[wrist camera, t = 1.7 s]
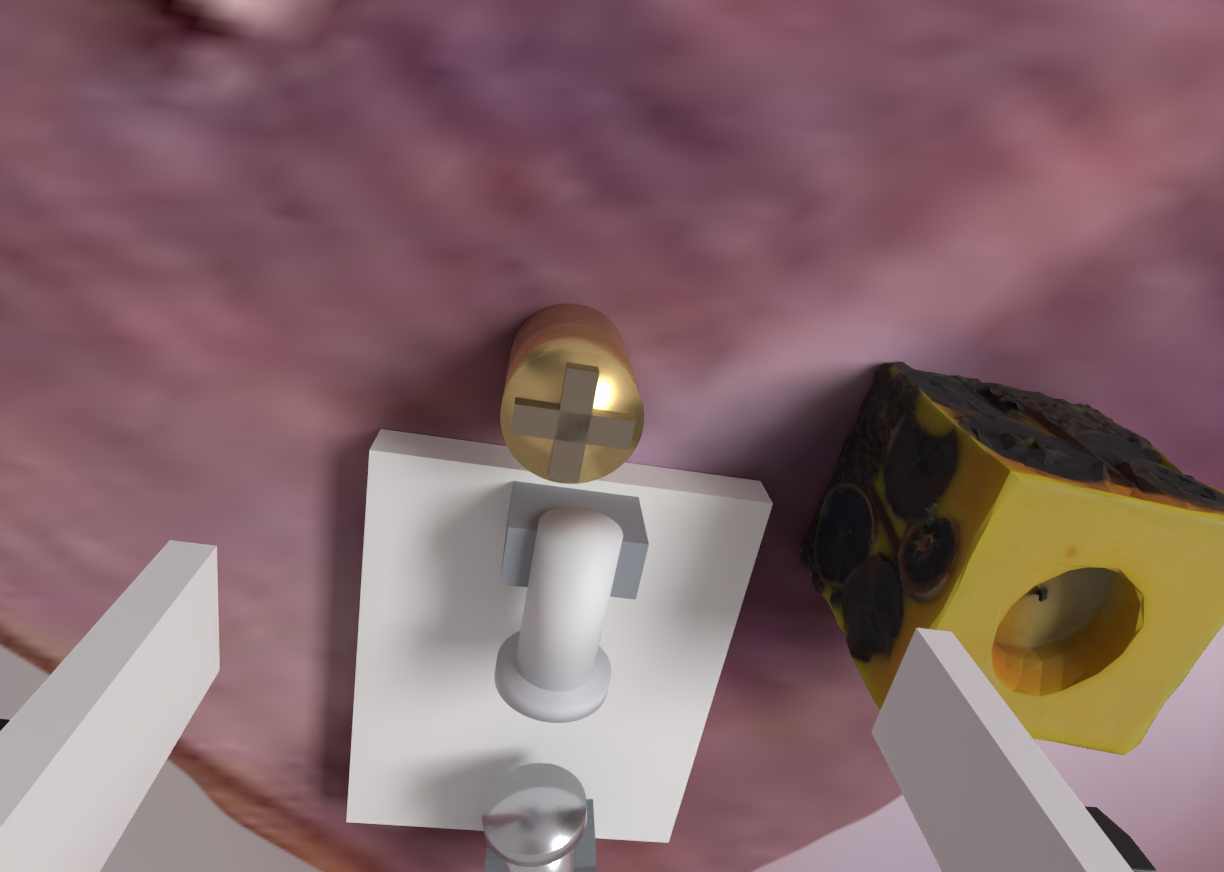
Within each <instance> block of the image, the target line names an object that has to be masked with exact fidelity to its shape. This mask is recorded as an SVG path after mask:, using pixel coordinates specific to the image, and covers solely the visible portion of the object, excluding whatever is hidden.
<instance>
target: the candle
mask: <svg viewBox="0 0 1224 872" xmlns="http://www.w3.org/2000/svg"><path fill="white" fill-rule="evenodd" d="M800 554H801V562H802V563H803V565H804V566H805V567H806V568H807V569H808V571H809V573H810V575H811V579H812V582H813V584H814V586H815V589H816V590H817V591H818V592H819V593H820V594H821V595H822V596H823V597H824V598H825V599H826V600H827V601H828V603H829V605H830V607H831V609H832V611H833V613H834V616H835V618H836V621H837V623H838V626H839V627H840V628H841V630H842V631H843V632H844V633H845V634H846V635H847V636H846V642H847V644H848V647H849V651H850V654H851V656H852V658H853V660H854V663H855V665H856V667H857V669H858V671H859V673H860V675H861V676H862V678H863V680H864V682H865V684H866V686H867V688H868V690H869V692H870V694H871V696H872V698H873V700H874V701H875V703H876V704H877V706H878V707H879V709H880V710H881V708H882V706H883V703H884V701H885V699H886V696H887V694H888V692H889V690H890V687H891V685H892V683H893V680H894V678H895V676H896V673H897V671H898V669H899V666H900V664H901V662H902V660H903V657H904V655H905V653H906V650H907V648H908V646H909V643H910V641H911V639H912V637H913V634H914V632H915V630H916V628H924V629H933V630H941V631H950V632H952V633H953V634H954V635H955V637H956V638H957V639H958V641H959V642H960V643H961V645H962V646H963V647H964V649H965V650H966V651H967V652H968V654H969V655H970V656H971V658H972V659H973V660H974V662H975V663H976V664H977V666H978V667H979V668H980V670H981V671H982V672H983V674H984V675H985V676H986V678H987V679H988V680H989V682H990V683H991V684H992V685H993V687H994V688H995V689H996V691H997V692H998V693H999V695H1000V696H1001V697H1002V699H1003V700H1004V701H1005V703H1006V704H1007V705H1008V707H1009V708H1010V709H1011V711H1012V712H1013V713H1014V714H1015V716H1016V717H1017V718H1018V720H1019V721H1020V722H1021V724H1022V725H1023V726H1024V728H1025V729H1026V730H1027V732H1028V733H1029V734H1030V736H1031V737H1032V738H1033V739H1039V740H1046V741H1053V742H1058V743H1063V744H1068V745H1073V746H1077V747H1082V748H1087V749H1093V750H1098V751H1104V752H1109V753H1115V754H1120V755H1125V754H1127V753H1128V752H1129V751H1131V750H1132V749H1134V748H1135V747H1136V746H1138V745H1139V744H1140V742H1141V741H1142V739H1143V737H1144V736H1145V734H1146V733H1147V731H1148V729H1149V728H1150V726H1151V724H1152V723H1153V721H1154V719H1155V718H1156V716H1157V714H1158V713H1159V711H1160V710H1161V708H1162V706H1163V705H1164V703H1165V702H1166V701H1167V699H1168V698H1169V697H1170V696H1171V695H1172V693H1173V692H1174V691H1175V690H1176V689H1177V688H1178V686H1179V685H1180V684H1181V683H1182V682H1183V680H1184V679H1185V677H1186V676H1187V674H1188V673H1189V671H1190V670H1191V668H1192V667H1193V665H1194V664H1195V662H1196V661H1197V660H1198V658H1199V657H1200V656H1201V654H1202V653H1203V651H1204V650H1205V649H1206V647H1207V646H1208V645H1209V643H1210V642H1211V640H1212V639H1213V638H1214V637H1215V635H1216V634H1217V632H1218V631H1219V629H1220V628H1221V627H1222V626H1223V625H1224V490H1221V489H1218V488H1215V487H1212V486H1209V485H1206V484H1203V483H1201V482H1199V481H1197V480H1195V479H1194V478H1193V477H1192V476H1188V475H1183V474H1182V473H1181V472H1180V471H1179V469H1178V468H1177V467H1175V466H1174V465H1173V464H1172V463H1170V462H1169V460H1168V459H1167V458H1166V457H1165V456H1164V455H1163V454H1162V453H1160V452H1159V451H1158V450H1157V449H1156V448H1154V447H1153V445H1152V444H1151V443H1150V442H1149V441H1148V440H1147V439H1145V438H1143V437H1141V436H1140V435H1138V434H1136V433H1134V432H1132V431H1130V430H1128V429H1126V428H1123V427H1122V426H1120V425H1118V424H1116V423H1114V422H1113V420H1112V419H1110V418H1108V417H1106V416H1104V415H1103V414H1102V413H1100V412H1099V411H1098V410H1096V409H1093V408H1092V407H1090V406H1089V405H1088V404H1086V405H1079V406H1077V405H1073V404H1071V403H1069V402H1067V401H1065V400H1063V399H1052V398H1050V397H1048V396H1046V395H1044V394H1042V393H1040V392H1027V391H1023V390H1019V389H1016V388H1012V387H1009V386H1006V385H1001V384H993V383H981V381H980V380H979V379H967V378H964V377H961V376H959V375H957V376H947V375H943V374H938V373H931V372H923V371H918V370H914V369H913V368H911V367H909V366H908V365H906V364H905V363H903V362H897V363H884V364H883V365H882V366H881V367H880V368H879V369H878V370H877V371H876V372H875V383H874V385H873V387H872V388H871V390H870V392H869V395H868V396H867V398H866V399H865V401H864V402H863V404H862V407H861V413H860V417H859V418H858V420H857V422H856V425H855V427H854V429H853V432H852V436H850V437H849V438H848V439H846V441H845V445H844V447H843V450H842V453H841V456H840V459H839V462H838V464H837V467H836V470H835V472H834V475H833V477H832V480H831V482H830V485H829V487H828V490H827V492H826V495H825V496H824V497H823V499H822V500H821V501H820V503H819V509H818V516H817V517H816V519H815V520H814V522H813V524H812V526H811V528H810V530H809V533H808V536H807V537H806V539H805V540H804V541H803V543H802V544H801V552H800Z"/></svg>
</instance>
